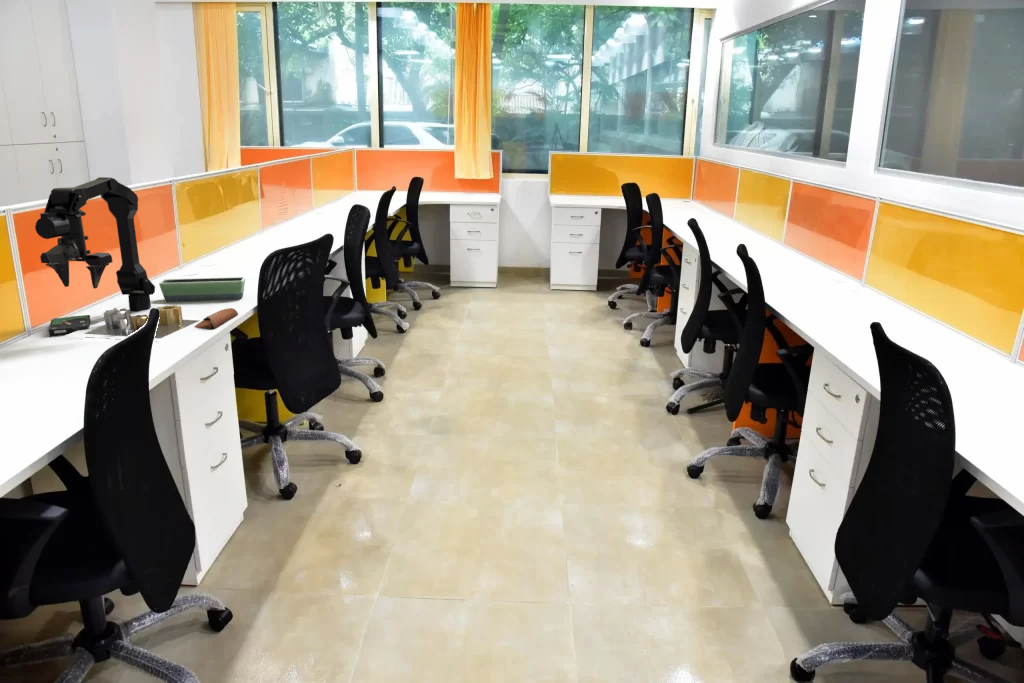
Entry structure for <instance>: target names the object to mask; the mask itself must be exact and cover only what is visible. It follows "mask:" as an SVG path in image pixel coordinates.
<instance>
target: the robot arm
mask: <svg viewBox="0 0 1024 683" xmlns="http://www.w3.org/2000/svg"><path fill="white" fill-rule="evenodd" d="M99 196H100V198H101V199H102V200H104V201H105V203H107V207H108V211H109V212H110V213H111V215H112V217H114V219H115V222H116V229H117V236H118V244H119V249H120V251H119V252H120V258H121V266H120V268H119V269H118V270H116V272H115V274H116V279H117V280H116V282H117V285H118V287H119V289H120V293H121V294H122V296H124V295H127V296H128V307H129V310H130V312H142V311H148V310H150V309H151V307H152V304H151V297H150V296H151V295H152V296H153V295H154V294H155V291H156V286H155V284H154V283H153V282H152V281H151V280H150V279H149V278H148V274H147V270H146V269H145V268H144V267H143V265H142V264H141V263H140V257H139V250H138V243H137V242H138V241H137V235H136V234H137V232H136V228H135V226H136V225H135V220H134V219H135V216H136V214H137V211H138V210H139V197H138V195H137V193H135V191H133V190H132V189H131V187H128V186H127V185H124V184H123V183H121V182H119V181H118V180H117V179H115V178H114V177H105V176H104V177H101V176H100V177H97V178H95V179H93V180H91V181H87V182H85V183H82V184H79V185H76V186H72V187H55V188H53V189H51V191H50V194H49V197H48V199H47V202H46V205H45V208H44V212H40V213H39V214H40V215H39V216H40V218H39V219H37V221H36V223H35V226H34V227H35V229H34V230H35V231H36V233H37V235H38V236H39V237H40V238H42V239H45V240H50V239H54V238H57V242H56V243H57V245H54V246H53V247H52V248H50V249H49V250H47V251H45V252H42V253H41V254H40V256H39V258H40V263H41V264H45V266H46V267H48V268H50V269H53V270H54V272H55V273H56V274H57V276H58V277H59V279H60V281H61V283H62V284H63V286H64V287H65V288H67V287H69V286H70V262H82V263H83V262H85V264H87V266H85V268H86V269H87V270H88V271H89V274H90V280H91V285H92V288H93V289H97V288H98V287H99V284H100V281H101V279H102V276H103V273H104V271H105V269H106V267H107V266H109V265H110V264H111V263H113V256H112V254H111V253H109V252H95V253H91V249H88V248H87V244H86V241H88V240H89V236H88V235H85V233H84V225H83V219H82V217H83V216H86V214H87V213H86V212H85V211H84V210H82V208H83V207H85V205H86V204H87V201H89V200H91V199H93V198H96V197H99Z"/></svg>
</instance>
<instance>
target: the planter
mask: <svg viewBox="0 0 1024 683" xmlns="http://www.w3.org/2000/svg"><path fill="white" fill-rule="evenodd" d="M245 283H246V278H245V277H244V276H238V277H237V276H234V277H232V276H230V277H229V276H228V277H201V278H200V277H199V278H197V277H196V278H195V277H194V278H192V277H191V278H168V279H167V278H166V279H162V280H161V281H160V282H159V288H160V291H161V294H162V296H163V299H164V301H165V303H182V302H184V303H185V302H209V301H210V302H211V301H212V302H214V301H236V300H237V301H240V299H241V300H242V299H243V297H244V291H245V285H246V284H245Z"/></svg>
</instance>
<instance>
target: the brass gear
mask: <svg viewBox="0 0 1024 683" xmlns="http://www.w3.org/2000/svg"><path fill="white" fill-rule="evenodd" d="M157 309H159V310H160V319H159V323H161V324H164V325H165V324H175V323H180V322H182V320H184V319H183V313H182V306H181V305H177V304H176V305H175V304H174V305H164V306H158V307H157Z"/></svg>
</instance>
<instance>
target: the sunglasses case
mask: <svg viewBox="0 0 1024 683" xmlns="http://www.w3.org/2000/svg"><path fill="white" fill-rule="evenodd" d="M238 316H239V313H238V311H237V310H236V309H235V308H232V307H231V308H230V307H229V308H224V309H221V310H220V309H219V310H218V311H216V312H214V313H212V314H210V315H208V316H206V317H204V318H203V320H201V321H199V322H197V324H196V325H194V328H195V329H196V328H197V329H202V330H216V329H218V328H220V327H221V326H223V325H224V324H226V323H228V322H229V321H231V320H233V319H234V318H236V317H238Z"/></svg>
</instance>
